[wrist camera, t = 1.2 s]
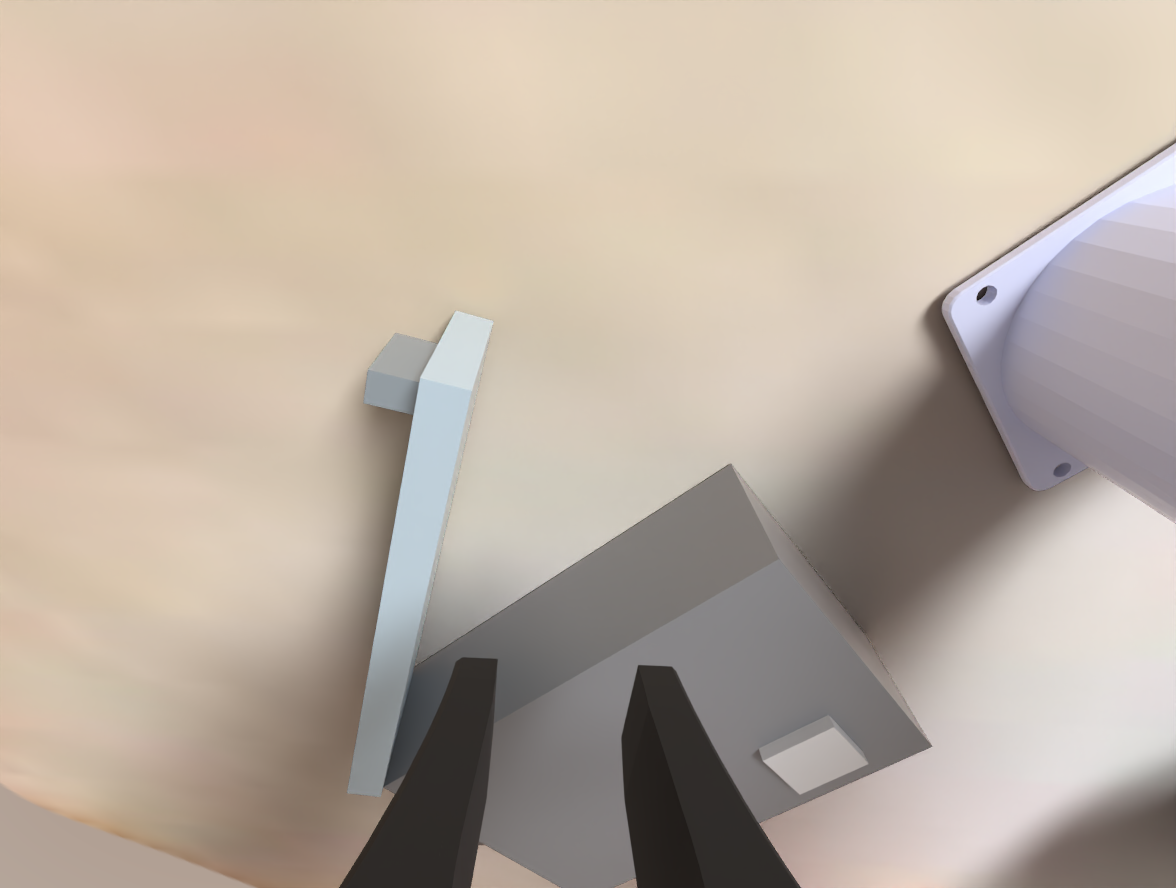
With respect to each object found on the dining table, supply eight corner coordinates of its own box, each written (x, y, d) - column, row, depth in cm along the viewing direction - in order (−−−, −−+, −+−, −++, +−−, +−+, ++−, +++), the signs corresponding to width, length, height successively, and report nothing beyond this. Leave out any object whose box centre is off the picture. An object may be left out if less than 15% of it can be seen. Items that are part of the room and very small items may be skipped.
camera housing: (731, 463, 18) (784, 569, 14) (865, 635, 22) (939, 758, 18) (392, 681, 22) (352, 815, 18) (559, 793, 26) (559, 923, 22)
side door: (408, 297, 15) (355, 362, 11) (493, 320, 15) (472, 390, 11) (351, 664, 21) (305, 788, 17) (412, 674, 22) (380, 797, 18)
